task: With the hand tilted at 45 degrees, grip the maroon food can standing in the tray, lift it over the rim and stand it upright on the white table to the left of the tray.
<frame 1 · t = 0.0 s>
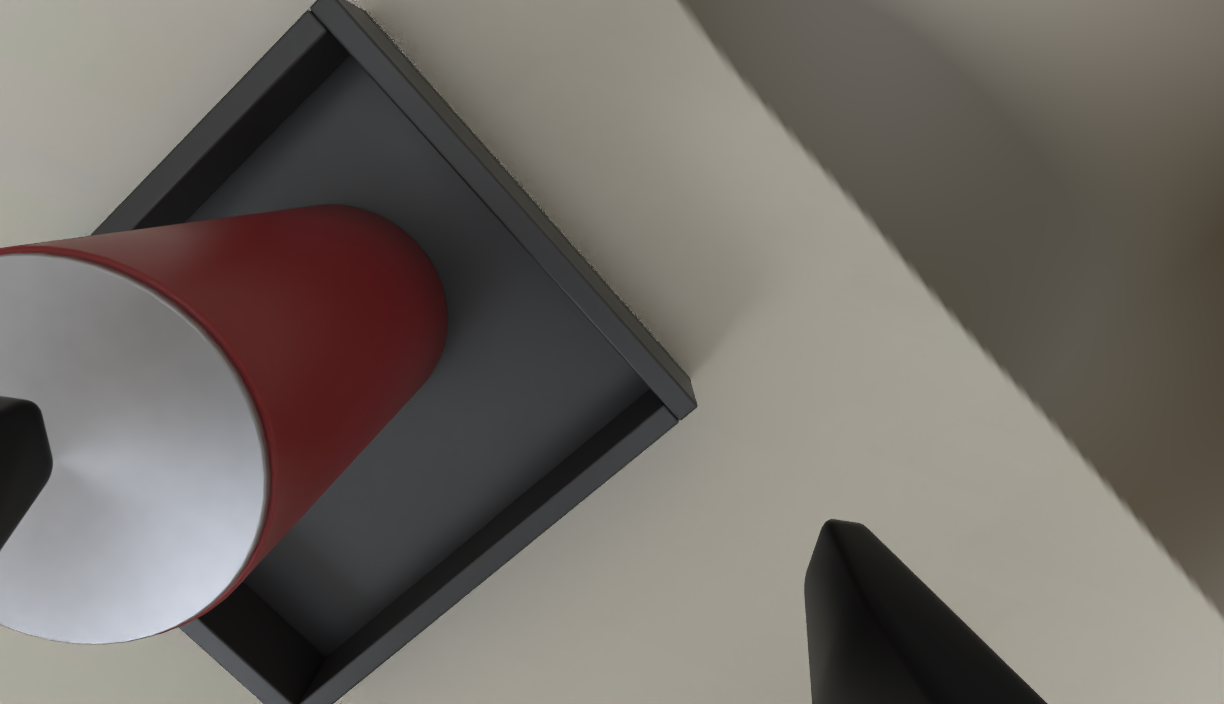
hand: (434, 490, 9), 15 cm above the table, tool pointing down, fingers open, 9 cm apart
tray: (345, 377, 25), on the table
can: (340, 313, 24), resting on tray
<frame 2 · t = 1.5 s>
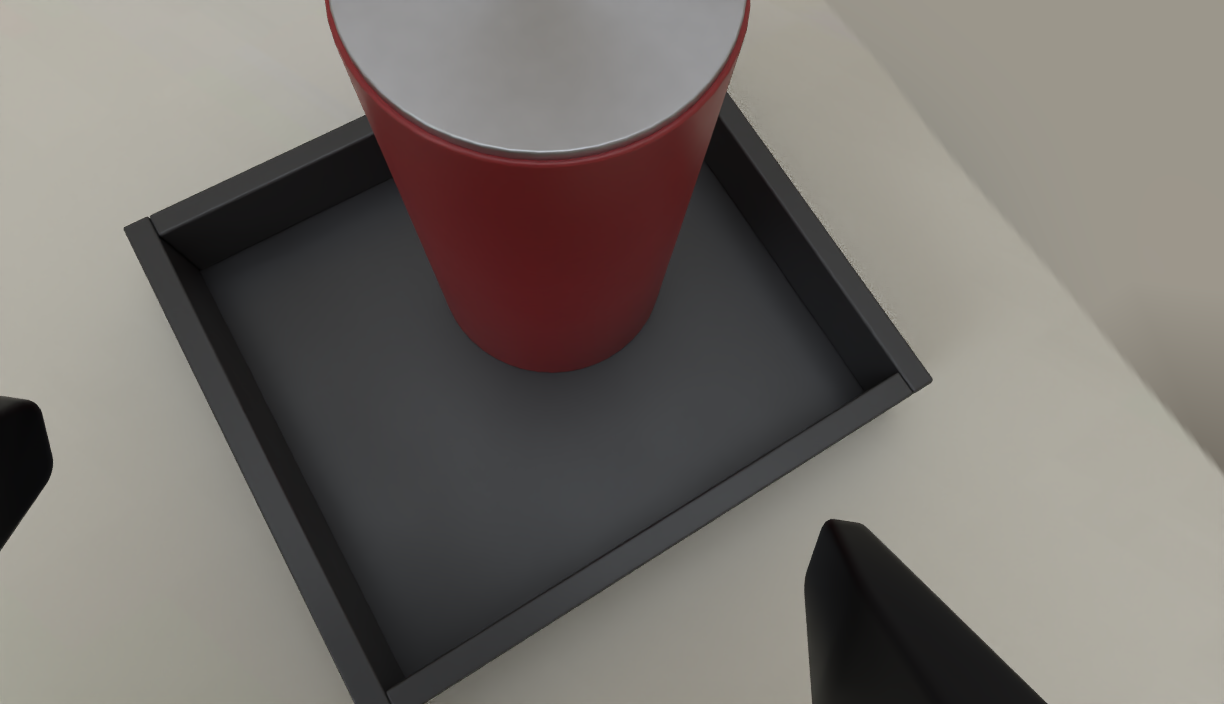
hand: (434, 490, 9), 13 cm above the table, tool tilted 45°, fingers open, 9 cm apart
tray: (534, 336, 23), on the table
can: (552, 267, 24), resting on tray
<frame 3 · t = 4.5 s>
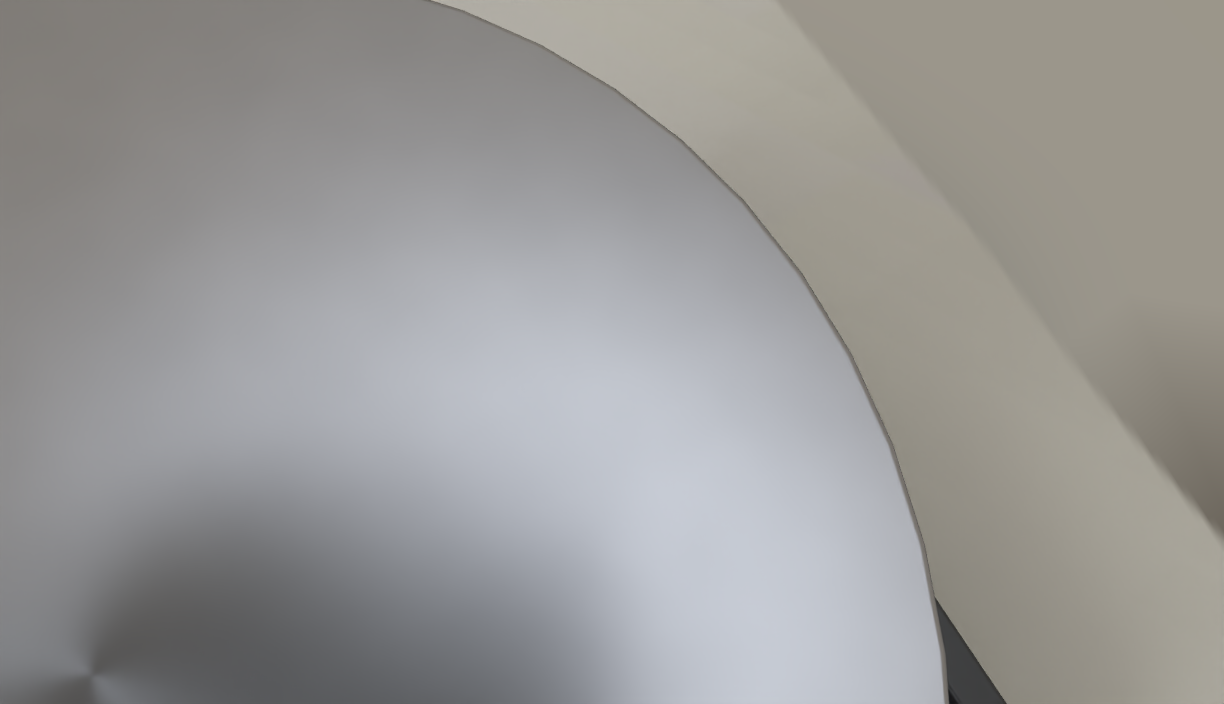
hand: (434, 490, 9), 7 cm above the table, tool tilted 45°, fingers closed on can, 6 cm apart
can: (470, 605, 14), resting on tray, touching gripper
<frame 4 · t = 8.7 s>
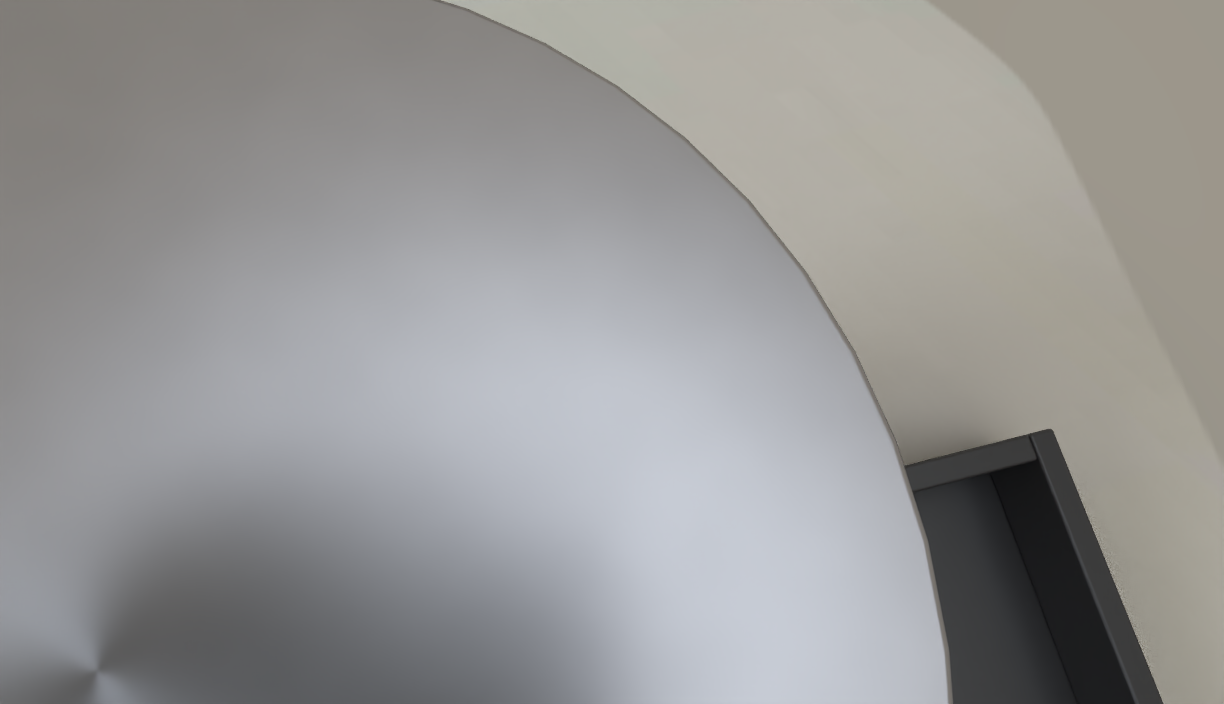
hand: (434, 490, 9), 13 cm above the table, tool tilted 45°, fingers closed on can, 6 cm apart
can: (471, 605, 14), point 7 cm above the table, touching gripper
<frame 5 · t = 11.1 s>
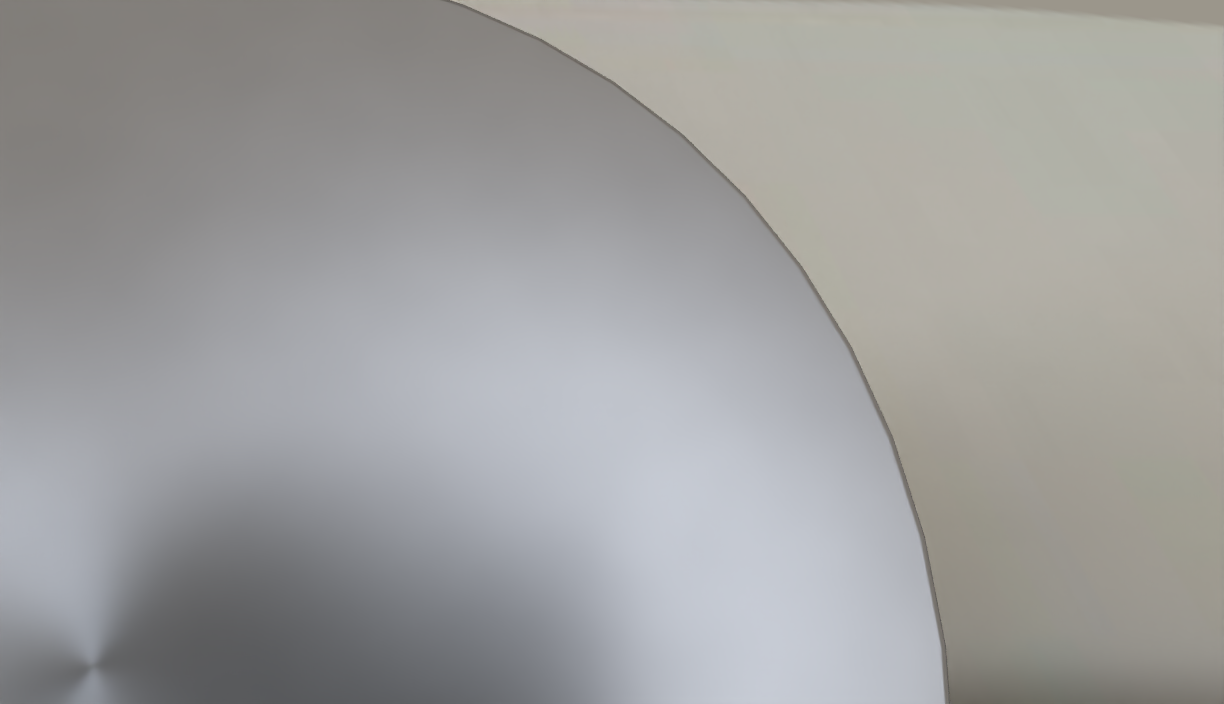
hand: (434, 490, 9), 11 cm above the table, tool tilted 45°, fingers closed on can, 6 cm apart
can: (470, 604, 14), point 4 cm above the table, touching gripper
when the fingers open (6 cm above the table, at t = 12.9 s): can stays where it is, on the table.
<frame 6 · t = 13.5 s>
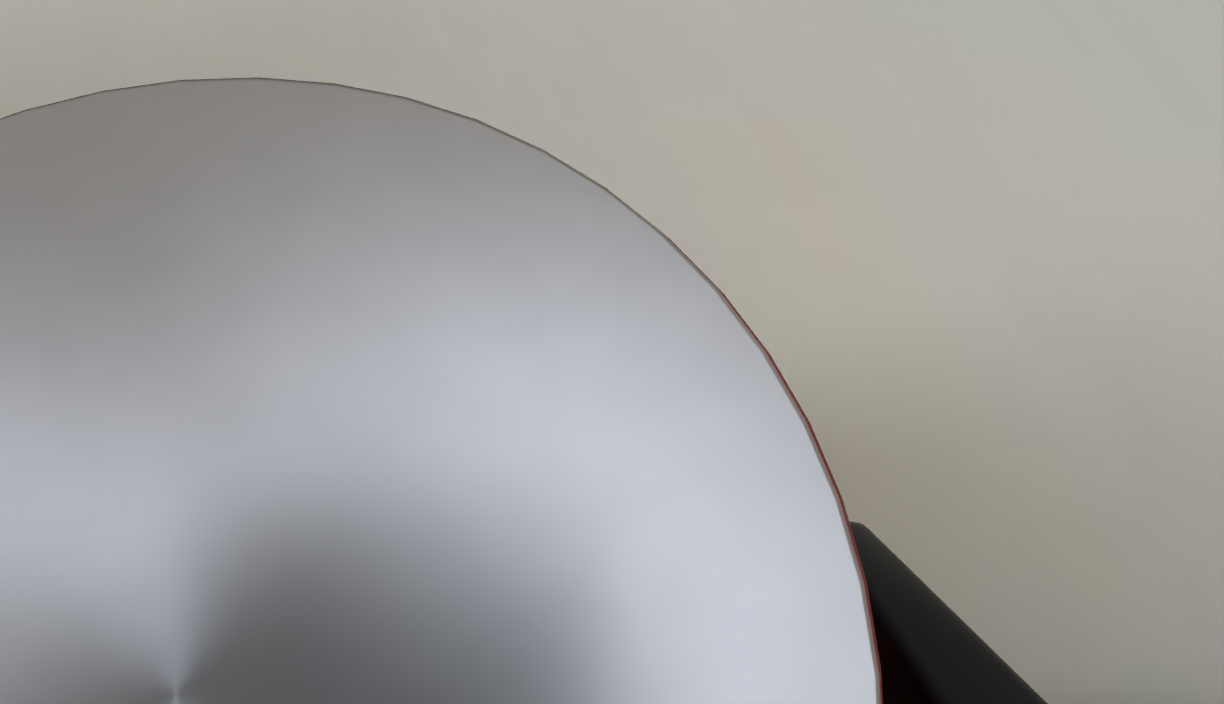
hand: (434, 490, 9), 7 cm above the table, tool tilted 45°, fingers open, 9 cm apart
can: (474, 611, 15), on the table
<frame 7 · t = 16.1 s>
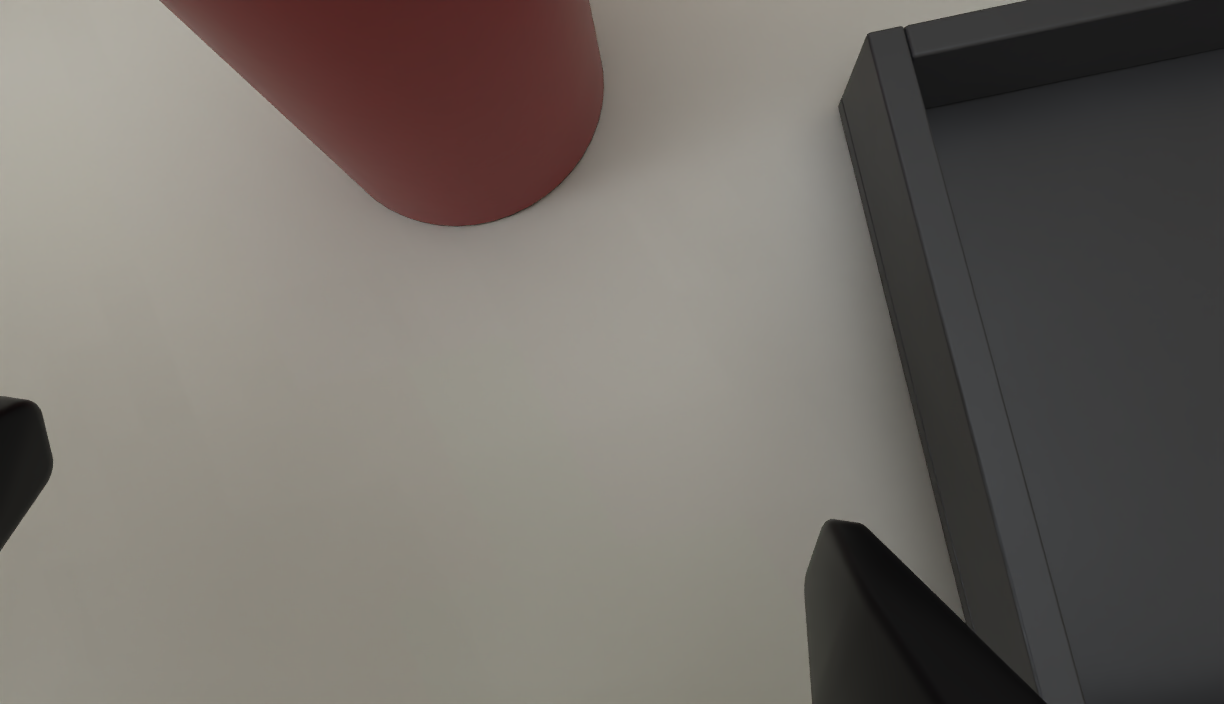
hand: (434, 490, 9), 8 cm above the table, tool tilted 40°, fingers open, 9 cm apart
can: (465, 93, 19), on the table
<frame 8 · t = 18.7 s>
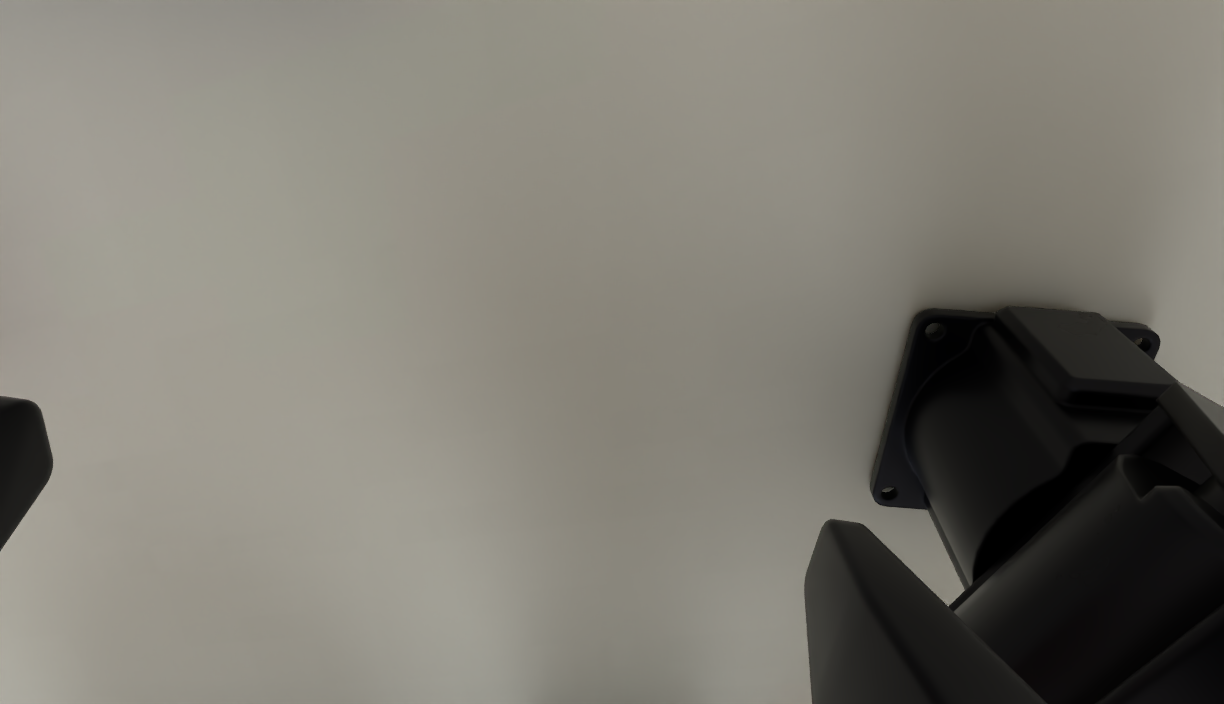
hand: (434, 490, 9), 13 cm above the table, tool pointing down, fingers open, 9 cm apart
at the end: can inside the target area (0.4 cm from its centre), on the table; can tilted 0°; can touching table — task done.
